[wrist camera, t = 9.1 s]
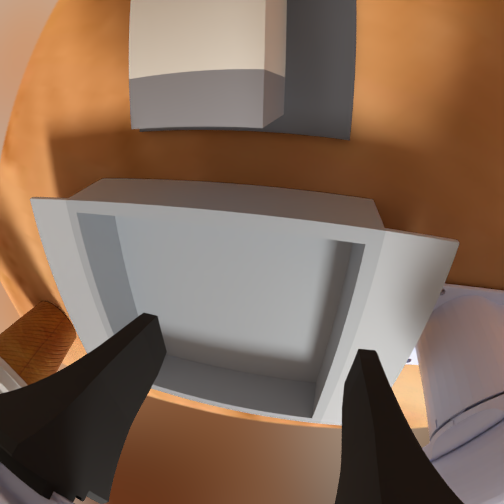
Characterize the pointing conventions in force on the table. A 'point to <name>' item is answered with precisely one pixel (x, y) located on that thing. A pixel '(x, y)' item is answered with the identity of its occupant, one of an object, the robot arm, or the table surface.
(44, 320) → the disposable coffee cup
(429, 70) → the table surface
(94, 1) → the table surface
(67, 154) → the table surface
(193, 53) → the capped box
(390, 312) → the grey rimmed tray
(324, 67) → the mat
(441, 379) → the robot arm
